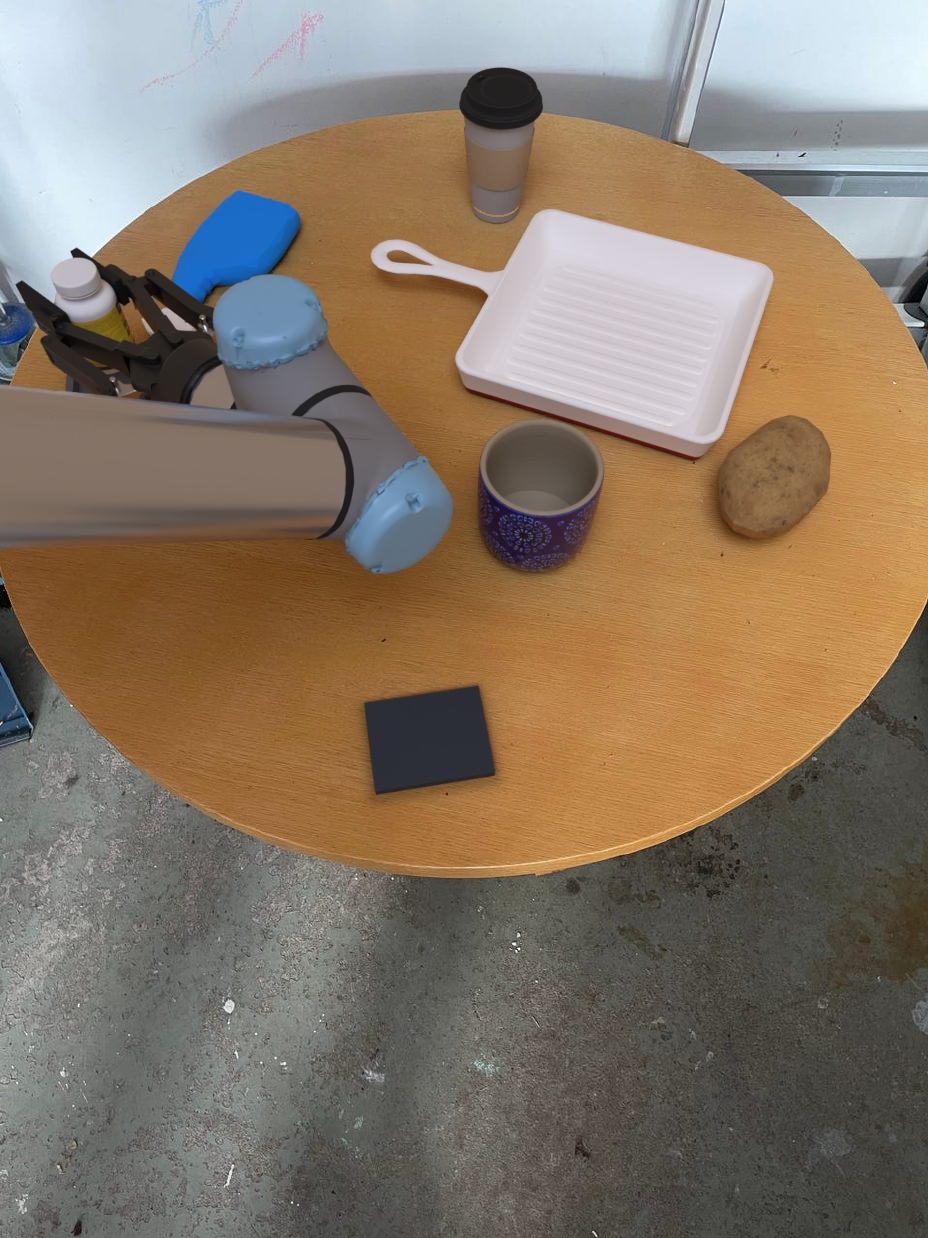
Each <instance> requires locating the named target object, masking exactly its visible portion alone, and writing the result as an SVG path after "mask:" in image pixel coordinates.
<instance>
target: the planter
mask: <svg viewBox="0 0 928 1238" xmlns="http://www.w3.org/2000/svg"><path fill="white" fill-rule="evenodd" d="M478 462H479V463H478V470H477V471H478V473H477V502H476V503H477V504H476V505H477V518H478V527H479V530H480V534H481V537H482V539H483V542H484V544H485V545H486V547H487V548H488V550H489V552H491V553H492V554H493V555H494V557H495V558H496V559H498V560H499V561H500V562H501V563H503V564H505V565H507V566H509V567H511V568H513V569H515V570H519V571H522V572H529V573H541V572H547V571H551V570H554V569H557V568H559V567H561V566H563V565H565V564H567V563H569V562H570V561H571V560H572V559H574V558H575V557H576V556H577V555H578V554H579V552H580V551H581V549H582V548H583V547H584V546H585V543H586V541H587V539H588V537H589V535H590V533H591V529H592V527H593V524H594V521H595V518H596V513H597V510H598V507H599V504H600V503H599V502H600V498H601V494H602V491H603V490H602V489H603V484H604V479H605V463H604V459H603V456H602V453H601V452H600V449H599V448H598V446H597V445H596V443H595V442H594V441H593V440H592V438H590V437H589V436H588V435H586V433H584V432H583V431H581V430H580V429H578V428H576V427H575V426H573V425H570V424H568V423H566V422H563V421H559V420H555V419H548V418H529V419H523V420H522V419H521V420H518V421H515V422H513V423H510V424H507V425H506V426H504V427H502V428H501V429H499V430H497V431H496V432H495V433H494V434H493V435H492V436H491V437H490V438H489V439H488V441H487V442H486V443H485V445H484V446H483V448H482V451H481V453H480V456H479V461H478Z"/></svg>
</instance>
